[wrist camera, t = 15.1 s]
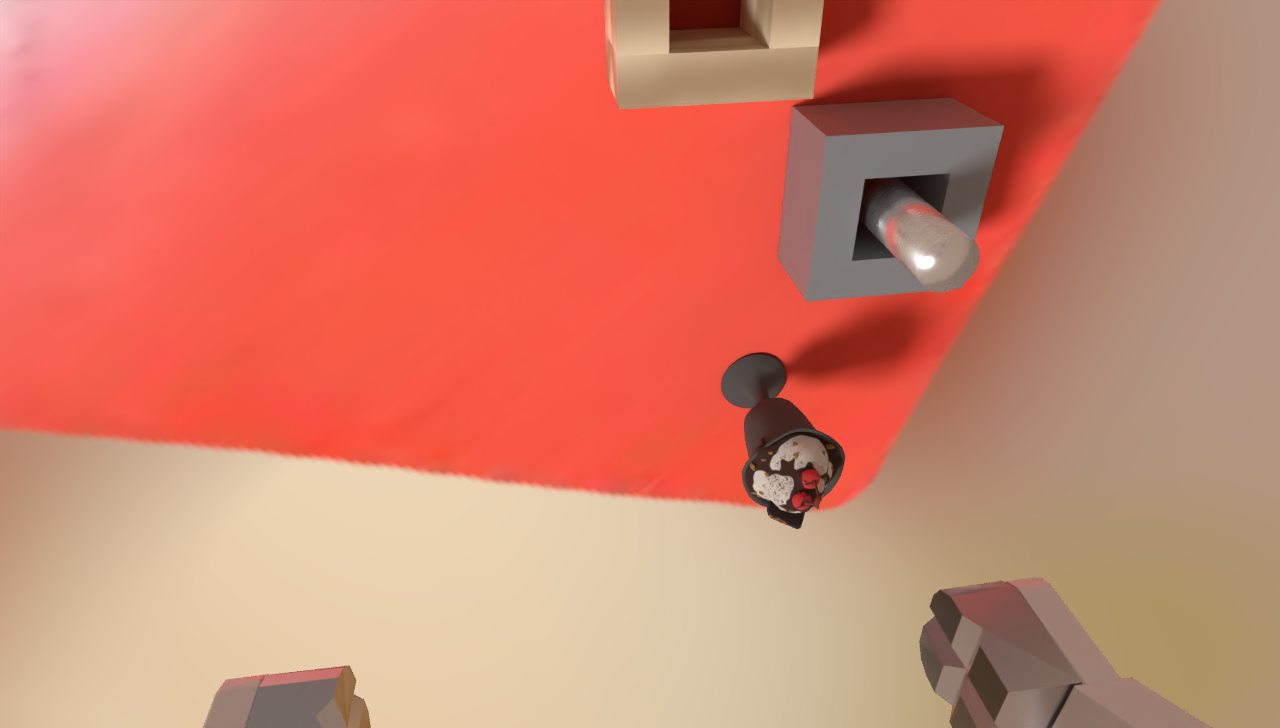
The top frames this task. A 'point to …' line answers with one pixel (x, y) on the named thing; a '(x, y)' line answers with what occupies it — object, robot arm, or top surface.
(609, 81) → the mount block
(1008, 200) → the top surface
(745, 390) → the sundae
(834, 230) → the dock block
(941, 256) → the pin
